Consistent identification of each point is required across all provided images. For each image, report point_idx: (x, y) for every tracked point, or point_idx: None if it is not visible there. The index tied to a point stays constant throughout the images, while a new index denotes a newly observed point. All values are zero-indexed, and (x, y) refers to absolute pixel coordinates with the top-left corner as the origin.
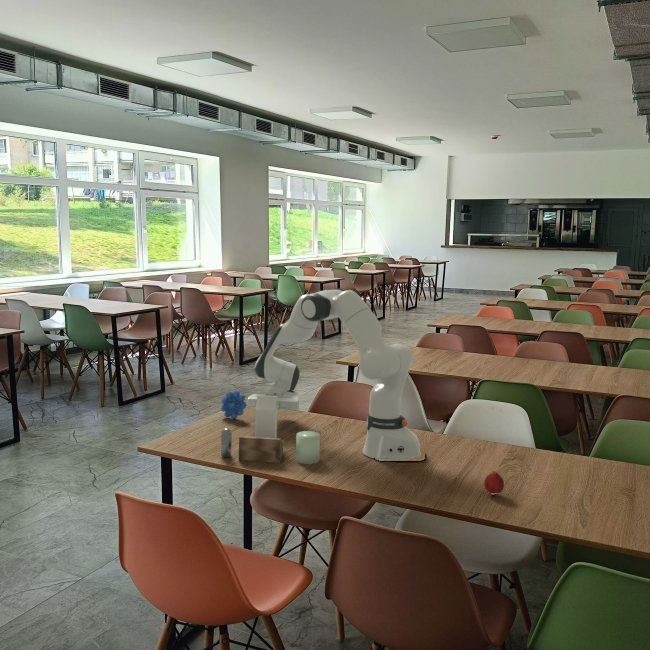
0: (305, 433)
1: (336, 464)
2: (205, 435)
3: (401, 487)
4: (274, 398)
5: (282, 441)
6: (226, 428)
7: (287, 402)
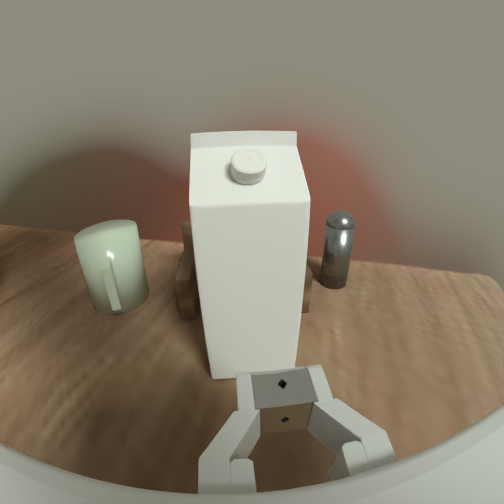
0: (109, 233)
1: (68, 285)
2: (489, 368)
3: (31, 247)
4: (203, 143)
5: (178, 270)
6: (342, 210)
7: (79, 477)
